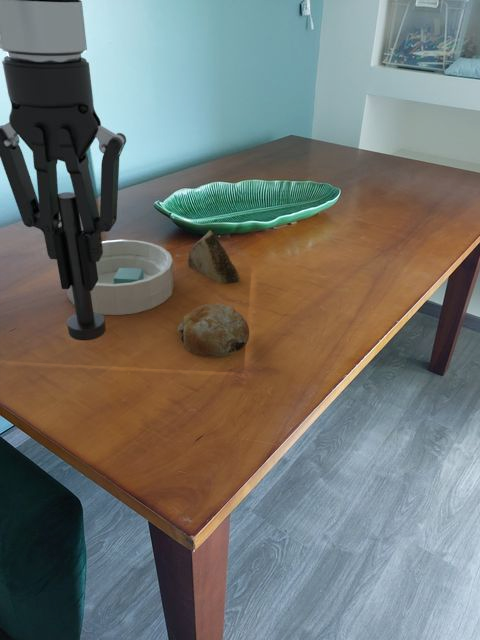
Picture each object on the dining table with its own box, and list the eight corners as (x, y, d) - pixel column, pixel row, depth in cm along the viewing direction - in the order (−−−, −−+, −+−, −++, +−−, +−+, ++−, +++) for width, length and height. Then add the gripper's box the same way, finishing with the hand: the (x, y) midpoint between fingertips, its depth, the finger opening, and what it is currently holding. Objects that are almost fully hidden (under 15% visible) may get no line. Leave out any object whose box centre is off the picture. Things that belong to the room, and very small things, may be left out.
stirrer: (63, 339, 64) (38, 201, 54) (75, 320, 68) (52, 187, 58) (100, 341, 64) (81, 203, 54) (109, 322, 68) (93, 189, 58)
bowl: (53, 316, 85) (46, 282, 81) (85, 267, 99) (81, 237, 96) (164, 322, 85) (162, 288, 82) (180, 272, 100) (179, 242, 96)
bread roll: (210, 385, 78) (230, 353, 73) (160, 339, 79) (176, 304, 74) (248, 354, 85) (268, 322, 80) (201, 312, 86) (218, 278, 81)
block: (116, 300, 88) (113, 278, 86) (121, 288, 92) (119, 267, 89) (140, 301, 89) (138, 279, 86) (144, 289, 92) (143, 268, 90)
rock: (171, 256, 100) (181, 272, 91) (197, 217, 98) (209, 230, 90) (217, 284, 105) (231, 302, 97) (242, 248, 104) (258, 263, 95)
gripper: (136, 55, 52) (151, 273, 65) (-20, 45, 52) (27, 266, 65) (118, 66, 46) (138, 304, 59) (-59, 54, 45) (2, 296, 59)
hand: (80, 284), depth 62 cm, fingers closed on stirrer, 2 cm apart
